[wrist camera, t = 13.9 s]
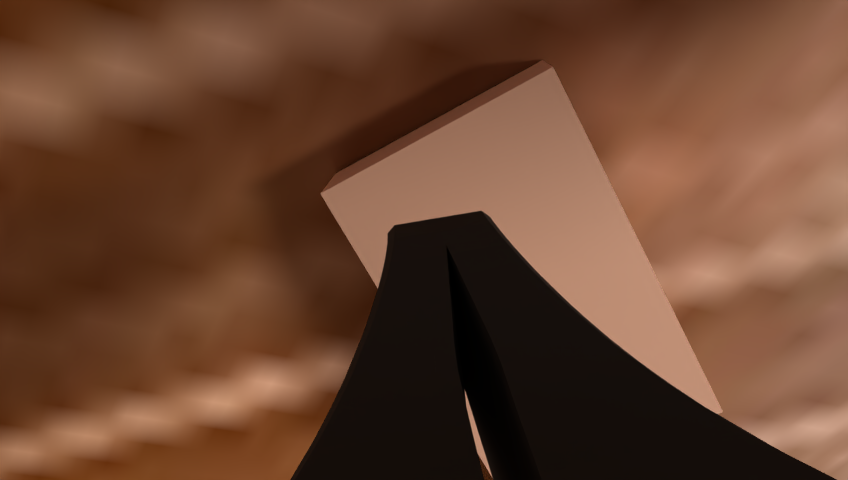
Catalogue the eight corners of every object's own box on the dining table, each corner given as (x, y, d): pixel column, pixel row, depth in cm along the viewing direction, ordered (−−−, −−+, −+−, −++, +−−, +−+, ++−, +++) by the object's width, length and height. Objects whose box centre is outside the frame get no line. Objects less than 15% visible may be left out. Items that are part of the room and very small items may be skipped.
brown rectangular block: (320, 193, 14) (508, 503, 16) (553, 67, 13) (722, 411, 15) (335, 173, 16) (503, 456, 18) (542, 60, 15) (696, 370, 17)
